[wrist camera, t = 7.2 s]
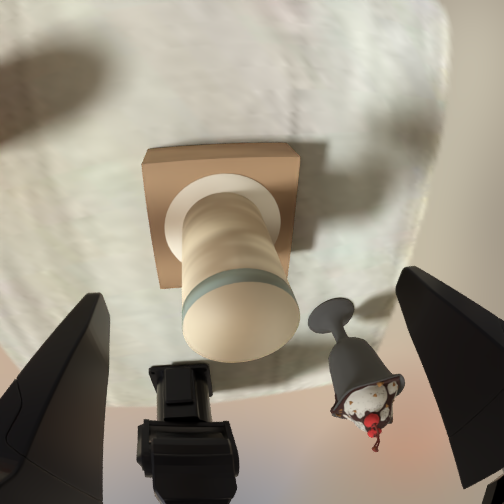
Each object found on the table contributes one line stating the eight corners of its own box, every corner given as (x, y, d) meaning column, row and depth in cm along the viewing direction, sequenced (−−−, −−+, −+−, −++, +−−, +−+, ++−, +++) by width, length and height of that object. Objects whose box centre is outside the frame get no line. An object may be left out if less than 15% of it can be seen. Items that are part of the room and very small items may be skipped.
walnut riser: (277, 254, 26) (287, 279, 23) (162, 263, 24) (160, 289, 22) (286, 142, 20) (300, 157, 18) (148, 149, 19) (141, 165, 16)
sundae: (302, 296, 29) (363, 448, 17) (367, 286, 30) (442, 417, 18) (295, 342, 33) (339, 474, 21) (353, 331, 34) (408, 449, 22)
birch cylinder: (265, 190, 19) (308, 277, 12) (261, 259, 22) (292, 356, 15) (178, 194, 18) (174, 288, 11) (185, 265, 21) (188, 367, 14)
